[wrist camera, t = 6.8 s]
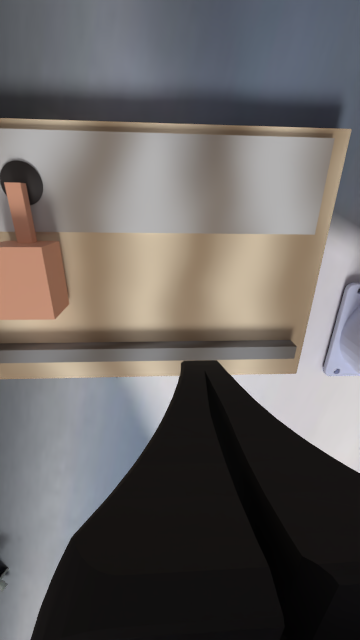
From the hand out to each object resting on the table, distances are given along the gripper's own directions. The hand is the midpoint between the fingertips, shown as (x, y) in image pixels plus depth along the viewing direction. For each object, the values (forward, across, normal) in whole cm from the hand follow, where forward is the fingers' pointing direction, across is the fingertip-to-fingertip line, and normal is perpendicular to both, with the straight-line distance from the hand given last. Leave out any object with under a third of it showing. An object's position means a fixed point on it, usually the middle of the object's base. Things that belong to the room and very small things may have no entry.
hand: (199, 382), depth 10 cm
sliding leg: (+9, +9, -4) cm, 13 cm away
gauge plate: (+10, +5, -2) cm, 12 cm away
